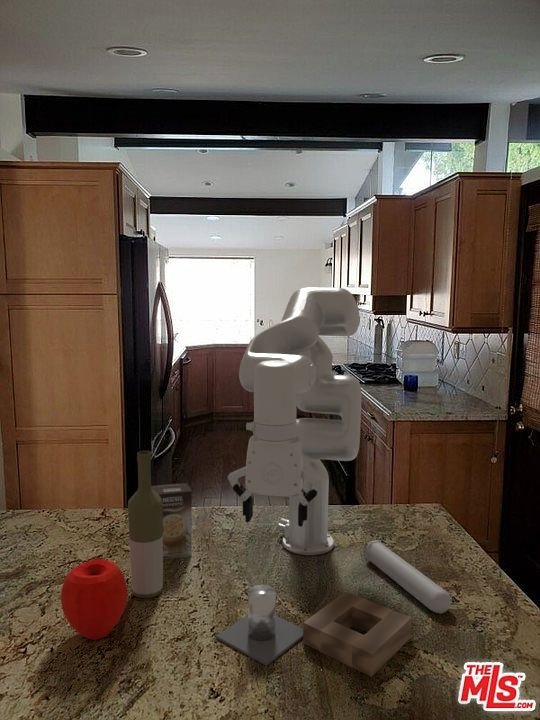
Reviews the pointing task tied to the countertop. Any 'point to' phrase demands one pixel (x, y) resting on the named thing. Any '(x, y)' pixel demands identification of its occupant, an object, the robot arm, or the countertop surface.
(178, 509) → the coffee box
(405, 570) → the tube
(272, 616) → the round peg
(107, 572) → the apple
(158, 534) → the bottle
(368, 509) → the countertop surface
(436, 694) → the countertop surface
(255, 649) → the mat
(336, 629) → the bore block
